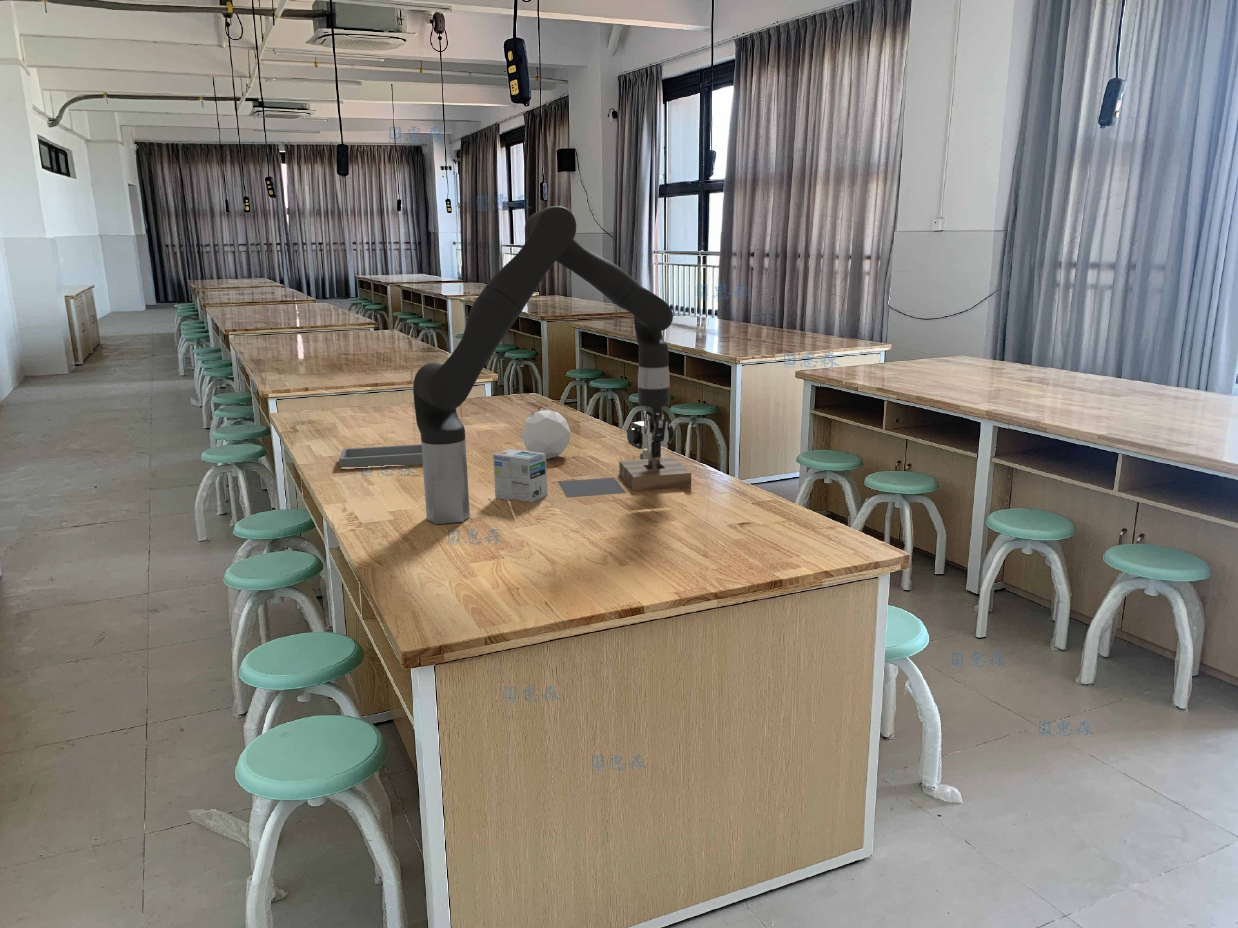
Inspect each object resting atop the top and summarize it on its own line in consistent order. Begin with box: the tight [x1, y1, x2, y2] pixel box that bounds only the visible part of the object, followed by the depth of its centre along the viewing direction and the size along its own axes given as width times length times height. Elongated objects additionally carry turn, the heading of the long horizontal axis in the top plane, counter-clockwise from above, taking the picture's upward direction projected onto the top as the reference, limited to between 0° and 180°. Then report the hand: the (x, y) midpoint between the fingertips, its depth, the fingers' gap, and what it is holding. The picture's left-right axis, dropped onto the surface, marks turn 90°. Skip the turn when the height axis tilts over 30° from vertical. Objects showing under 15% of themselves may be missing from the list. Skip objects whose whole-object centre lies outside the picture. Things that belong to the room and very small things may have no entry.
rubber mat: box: [557, 477, 627, 498], centre depth 215 cm, size 14×14×1 cm
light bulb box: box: [493, 448, 549, 503], centre depth 207 cm, size 11×7×11 cm, turn 59°
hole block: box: [618, 456, 692, 492], centre depth 220 cm, size 16×14×4 cm
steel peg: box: [648, 428, 662, 469], centre depth 218 cm, size 3×3×10 cm
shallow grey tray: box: [338, 443, 423, 469], centre depth 244 cm, size 12×23×3 cm, turn 102°
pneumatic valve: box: [626, 420, 675, 459], centre depth 237 cm, size 6×12×12 cm, turn 116°
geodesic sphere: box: [520, 407, 572, 460], centre depth 245 cm, size 14×14×14 cm
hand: (654, 455), depth 218 cm, fingers closed on steel peg, 3 cm apart
